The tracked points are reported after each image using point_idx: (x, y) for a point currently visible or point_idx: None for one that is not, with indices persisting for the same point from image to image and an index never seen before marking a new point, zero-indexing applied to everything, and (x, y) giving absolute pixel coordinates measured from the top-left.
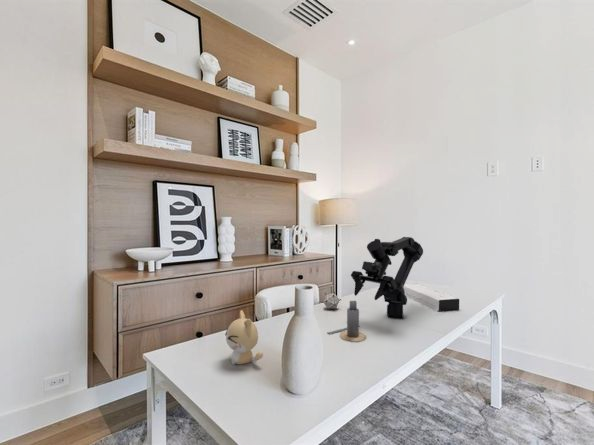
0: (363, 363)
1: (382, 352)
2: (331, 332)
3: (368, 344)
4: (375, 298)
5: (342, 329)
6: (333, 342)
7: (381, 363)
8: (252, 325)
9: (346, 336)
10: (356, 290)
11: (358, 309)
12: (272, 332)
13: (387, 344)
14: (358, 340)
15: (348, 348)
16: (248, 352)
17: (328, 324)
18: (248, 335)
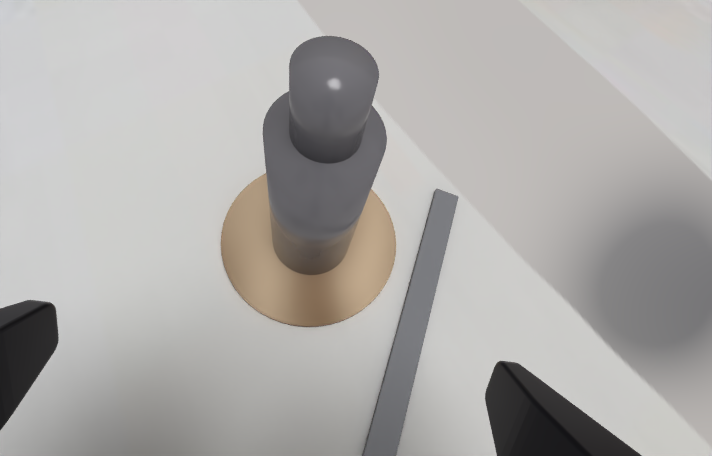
0: (135, 9)
1: (71, 137)
2: (441, 210)
3: (178, 189)
4: (22, 306)
5: (421, 295)
6: None
7: (53, 38)
8: None
9: None
10: (540, 412)
11: (275, 156)
12: (639, 77)
13: (59, 253)
14: (247, 189)
15: (258, 96)
16: None
17: (555, 336)
18: None
